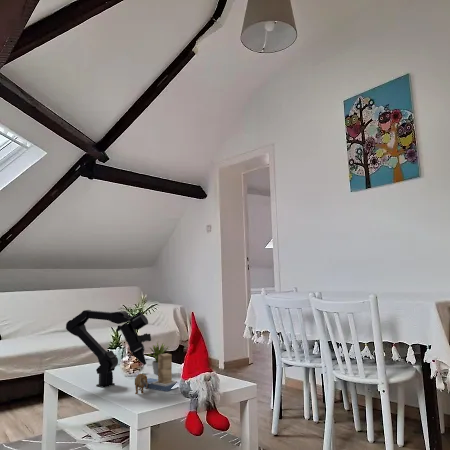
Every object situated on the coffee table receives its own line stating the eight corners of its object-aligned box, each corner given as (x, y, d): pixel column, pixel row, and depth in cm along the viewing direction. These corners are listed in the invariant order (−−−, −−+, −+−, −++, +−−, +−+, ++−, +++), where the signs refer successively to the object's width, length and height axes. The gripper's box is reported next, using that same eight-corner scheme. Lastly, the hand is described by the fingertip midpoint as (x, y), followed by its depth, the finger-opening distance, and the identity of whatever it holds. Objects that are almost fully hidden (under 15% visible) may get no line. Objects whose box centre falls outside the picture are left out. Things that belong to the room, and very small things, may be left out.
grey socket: (152, 384, 187) (152, 382, 187) (164, 380, 194) (164, 378, 194) (165, 386, 182) (165, 384, 183) (177, 382, 189) (177, 380, 189)
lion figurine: (145, 395, 175) (146, 374, 176) (133, 396, 175) (133, 374, 176) (148, 387, 190) (149, 367, 191) (137, 387, 189) (137, 367, 190)
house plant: (170, 376, 210) (170, 344, 213) (143, 377, 210) (144, 344, 212) (173, 370, 224) (173, 340, 227) (148, 371, 224) (149, 341, 227)
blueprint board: (137, 386, 192) (137, 381, 192) (149, 382, 199) (149, 377, 199) (166, 391, 181) (166, 386, 182) (179, 387, 188) (179, 382, 189)
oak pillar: (158, 383, 188) (158, 354, 190) (166, 381, 191) (166, 353, 193) (163, 385, 185) (163, 355, 187) (171, 383, 188) (171, 354, 190)
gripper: (144, 324, 189) (160, 354, 185) (145, 328, 206) (160, 355, 203) (122, 336, 185) (138, 367, 182) (125, 339, 203) (140, 367, 199)
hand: (145, 364), depth 191 cm, fingers open, 9 cm apart
